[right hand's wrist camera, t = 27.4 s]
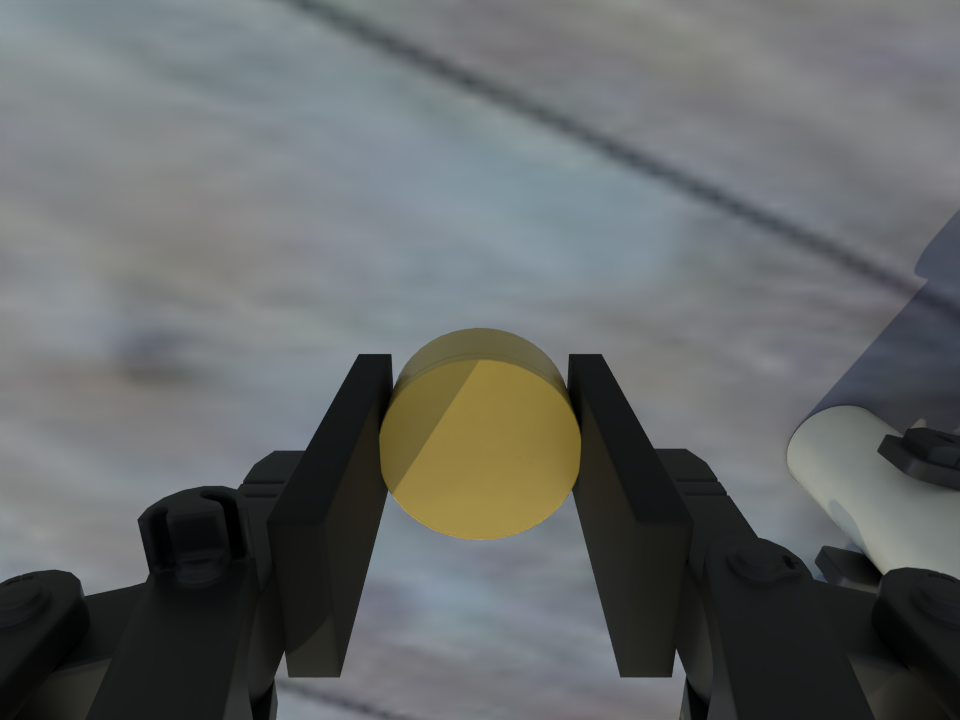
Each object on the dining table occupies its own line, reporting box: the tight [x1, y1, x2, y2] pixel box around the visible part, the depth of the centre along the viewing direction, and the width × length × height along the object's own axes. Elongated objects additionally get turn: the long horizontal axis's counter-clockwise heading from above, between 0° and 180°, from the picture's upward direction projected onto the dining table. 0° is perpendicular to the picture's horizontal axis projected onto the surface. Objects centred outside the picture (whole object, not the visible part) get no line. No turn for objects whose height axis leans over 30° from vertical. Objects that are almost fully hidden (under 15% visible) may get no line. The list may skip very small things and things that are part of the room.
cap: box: [379, 328, 581, 540], centre depth 13 cm, size 4×4×2 cm
